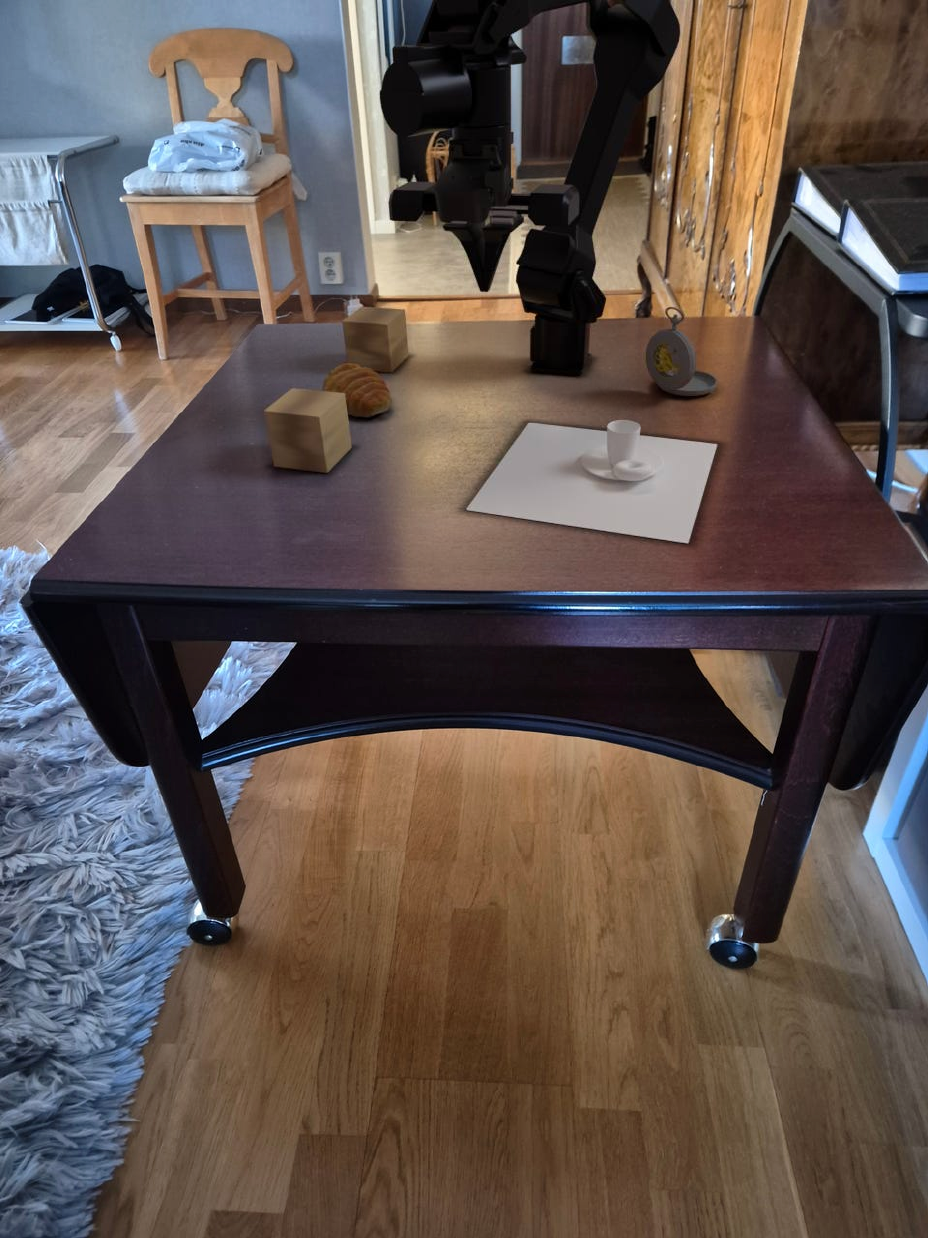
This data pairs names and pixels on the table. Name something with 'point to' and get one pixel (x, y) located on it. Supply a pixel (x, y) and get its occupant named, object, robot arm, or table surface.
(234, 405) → the table surface
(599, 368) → the table surface
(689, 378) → the pocket watch
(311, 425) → the block
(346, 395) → the pastry
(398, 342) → the block
